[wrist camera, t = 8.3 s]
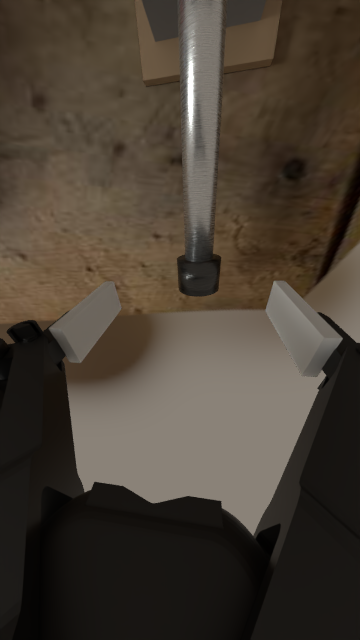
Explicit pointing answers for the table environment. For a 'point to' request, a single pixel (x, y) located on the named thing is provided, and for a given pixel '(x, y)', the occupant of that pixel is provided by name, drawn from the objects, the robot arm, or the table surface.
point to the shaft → (200, 137)
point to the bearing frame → (240, 45)
